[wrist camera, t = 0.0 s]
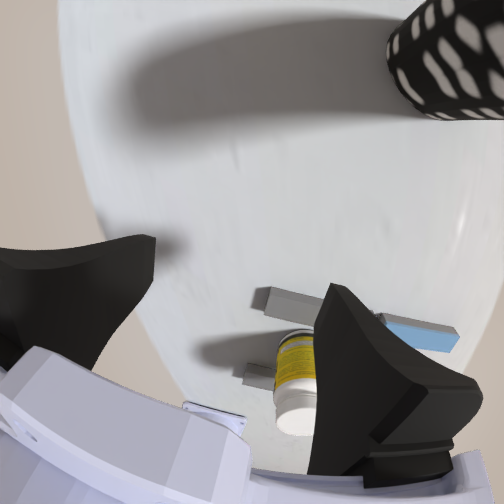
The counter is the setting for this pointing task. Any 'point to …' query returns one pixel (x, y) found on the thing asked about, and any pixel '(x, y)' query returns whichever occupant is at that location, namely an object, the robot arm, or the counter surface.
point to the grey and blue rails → (306, 313)
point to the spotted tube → (451, 59)
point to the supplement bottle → (295, 384)
